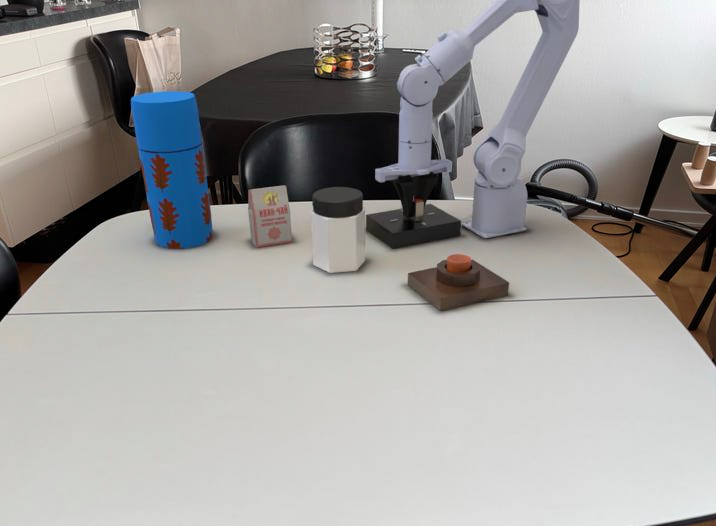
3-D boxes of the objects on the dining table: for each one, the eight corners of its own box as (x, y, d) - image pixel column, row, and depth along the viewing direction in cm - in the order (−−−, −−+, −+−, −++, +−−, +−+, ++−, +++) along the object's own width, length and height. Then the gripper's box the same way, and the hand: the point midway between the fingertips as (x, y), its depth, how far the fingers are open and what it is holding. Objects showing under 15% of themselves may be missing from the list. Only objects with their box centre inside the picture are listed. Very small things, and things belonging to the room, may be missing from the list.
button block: (471, 271, 112) (473, 248, 110) (508, 295, 105) (510, 271, 102) (407, 285, 108) (408, 262, 106) (440, 311, 100) (441, 286, 98)
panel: (429, 218, 135) (430, 202, 133) (460, 236, 126) (461, 219, 124) (365, 229, 130) (365, 213, 128) (392, 249, 121) (393, 232, 120)
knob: (402, 214, 128) (403, 193, 126) (410, 212, 129) (410, 192, 127) (415, 222, 124) (416, 201, 122) (423, 220, 125) (424, 200, 123)
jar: (326, 251, 121) (324, 183, 115) (370, 256, 119) (370, 188, 112) (306, 270, 114) (302, 200, 108) (352, 276, 111) (351, 205, 105)
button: (461, 262, 107) (462, 252, 106) (474, 271, 104) (475, 260, 103) (442, 267, 105) (442, 256, 104) (454, 275, 102) (455, 264, 102)
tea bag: (251, 240, 126) (245, 187, 121) (286, 235, 128) (282, 182, 123) (256, 247, 123) (250, 193, 118) (292, 242, 125) (288, 188, 120)
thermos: (200, 250, 122) (179, 103, 109) (144, 247, 124) (117, 102, 111) (222, 229, 131) (205, 91, 118) (170, 226, 133) (148, 90, 120)
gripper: (388, 149, 114) (387, 228, 121) (463, 140, 118) (458, 215, 125) (370, 140, 119) (370, 216, 126) (442, 131, 124) (438, 204, 131)
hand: (412, 215), depth 126 cm, fingers closed on knob, 2 cm apart
